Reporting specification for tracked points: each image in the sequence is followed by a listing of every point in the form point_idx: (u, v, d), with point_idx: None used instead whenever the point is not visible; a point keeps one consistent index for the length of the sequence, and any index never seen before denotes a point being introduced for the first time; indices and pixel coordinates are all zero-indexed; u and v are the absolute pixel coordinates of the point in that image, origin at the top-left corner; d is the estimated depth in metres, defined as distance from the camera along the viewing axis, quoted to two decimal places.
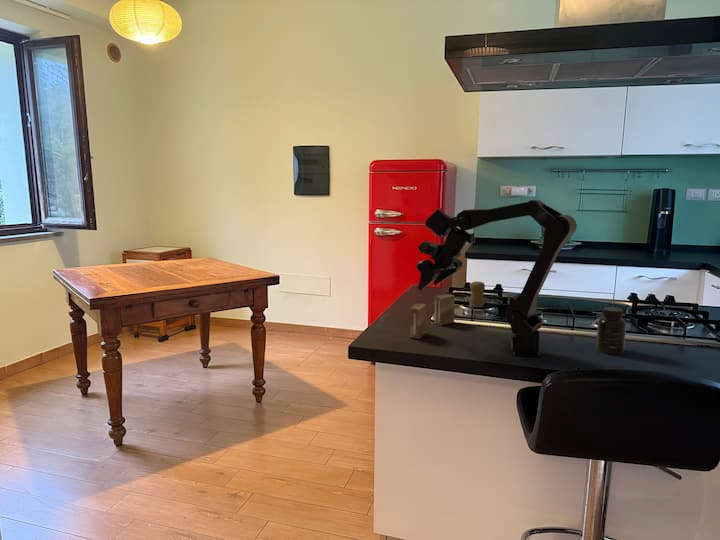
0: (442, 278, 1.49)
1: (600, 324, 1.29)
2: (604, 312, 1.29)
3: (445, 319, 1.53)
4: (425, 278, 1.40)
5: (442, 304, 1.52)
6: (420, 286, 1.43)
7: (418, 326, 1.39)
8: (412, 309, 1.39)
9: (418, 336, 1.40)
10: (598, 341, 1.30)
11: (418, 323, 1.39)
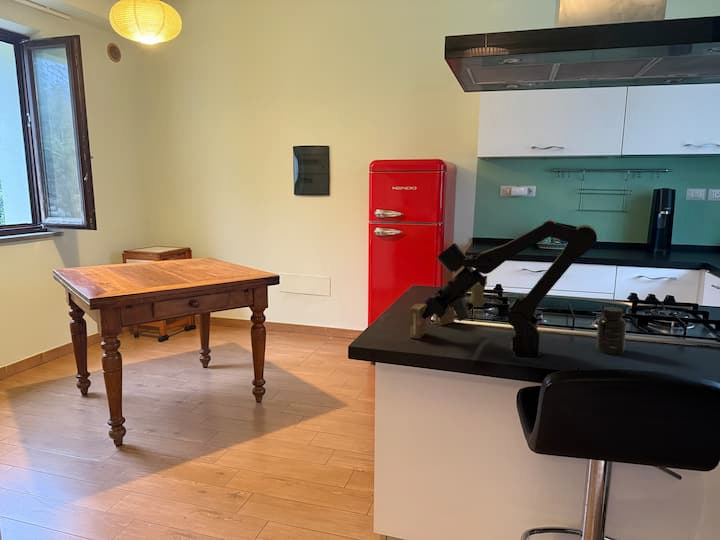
0: None
1: (600, 324, 1.29)
2: (604, 312, 1.29)
3: (445, 319, 1.53)
4: None
5: None
6: None
7: (418, 326, 1.39)
8: (412, 309, 1.39)
9: (418, 336, 1.40)
10: (598, 341, 1.30)
11: (418, 323, 1.39)
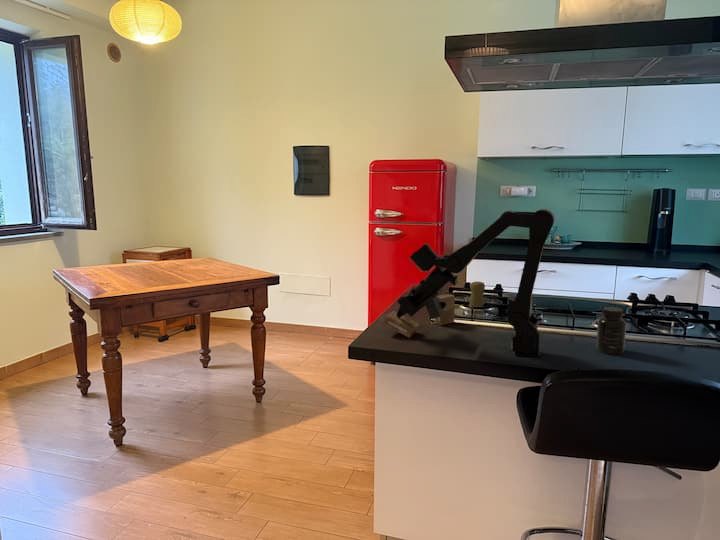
0: None
1: (600, 324, 1.29)
2: (604, 312, 1.29)
3: (445, 319, 1.53)
4: None
5: None
6: None
7: (401, 324, 1.42)
8: (385, 322, 1.44)
9: (410, 329, 1.41)
10: (598, 341, 1.30)
11: (398, 323, 1.42)
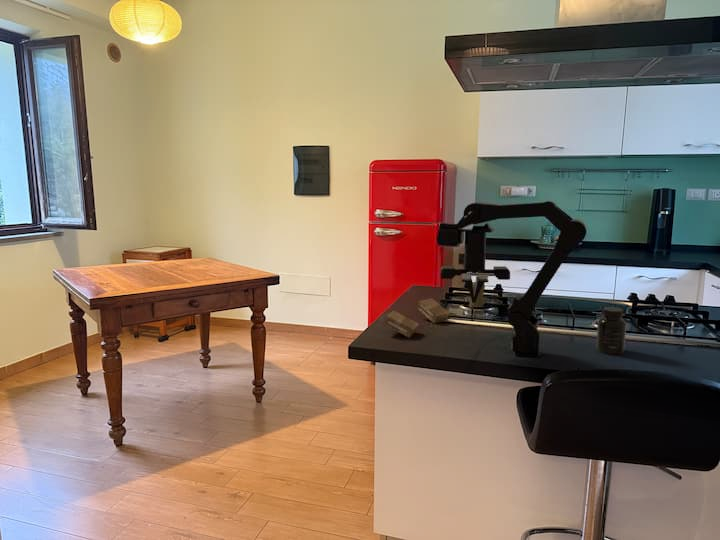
0: (475, 291, 1.33)
1: (600, 324, 1.29)
2: (604, 312, 1.29)
3: (438, 312, 1.56)
4: None
5: (424, 304, 1.59)
6: (471, 297, 1.35)
7: (401, 324, 1.42)
8: (385, 322, 1.44)
9: (410, 329, 1.41)
10: (598, 341, 1.30)
11: (398, 323, 1.42)
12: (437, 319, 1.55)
